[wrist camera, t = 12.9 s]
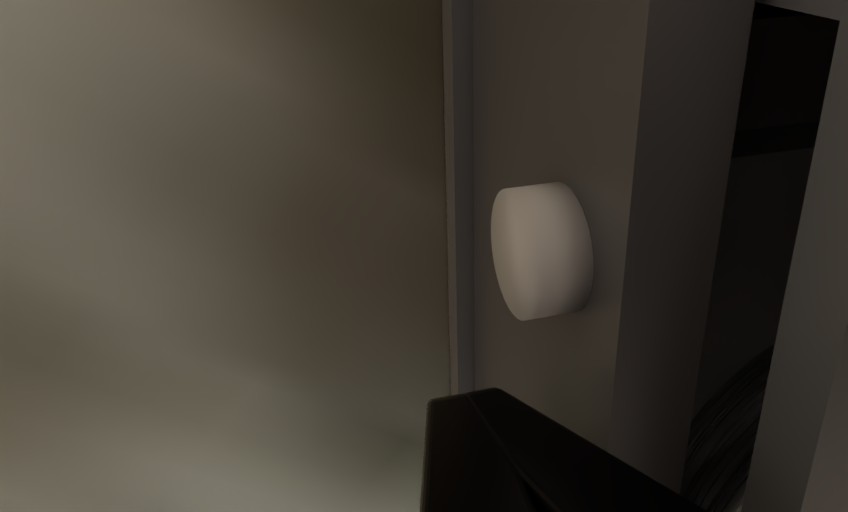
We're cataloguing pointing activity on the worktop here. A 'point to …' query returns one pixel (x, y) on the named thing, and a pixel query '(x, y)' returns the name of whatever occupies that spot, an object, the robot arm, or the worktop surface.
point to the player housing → (802, 307)
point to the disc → (726, 439)
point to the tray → (636, 204)
